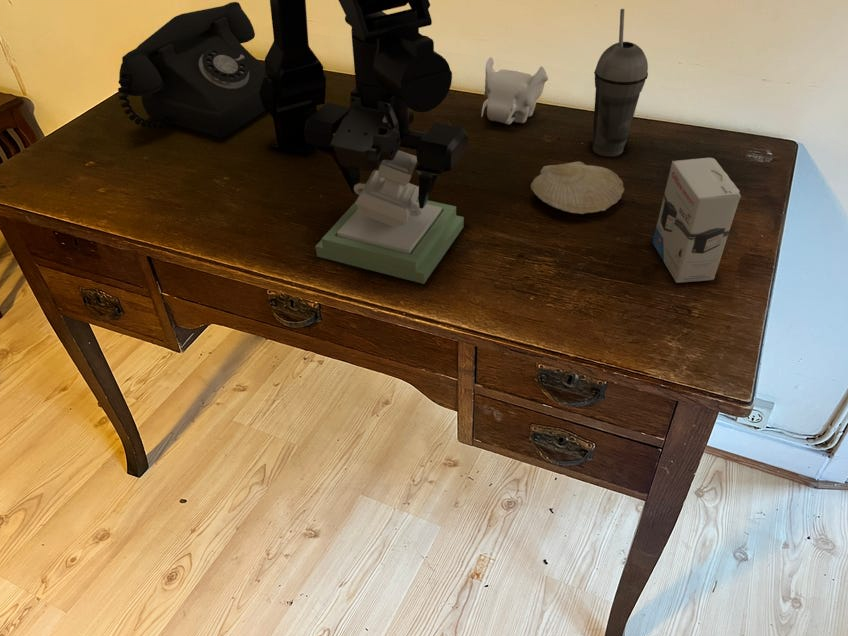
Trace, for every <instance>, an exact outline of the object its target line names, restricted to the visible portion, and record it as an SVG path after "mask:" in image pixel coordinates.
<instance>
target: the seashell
mask: <svg viewBox="0 0 848 636" xmlns="http://www.w3.org/2000/svg"><path fill="white" fill-rule="evenodd" d="M530 189H531V190H532V192H533V193H534V194H535V196H536V197H537V198H538V199H540V200H541V201H542V202H543V203H545V204H547V205H548V206H550V207H552V208H554V209H556V210H561V211H563V212H567V213H571V214H579V215H584V214H595V213H598V212H605V211H606V210H607V209H610V207H612V206H613V205H615V204H617V203H618V202H619V200H621V199H622V195H623V193H624V192H625V187H624V182H623V179H621V178H620V177H619V175H618V174H617V173H615V172H614V171H613V170H611V169H610V168H607V167H605V166H600V165H599V166H598V165H592V164H591V165H589V164H588V165H587V164H585V163H584V162H583V161H580V160H579V161H573V162H566V163H559V164H550V165H544V166H543V167H542V168H541V170H540V174H539V175H537V176H535V178H534V179H533V181H531V183H530Z"/></svg>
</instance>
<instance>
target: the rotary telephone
mask: <svg viewBox="0 0 848 636" xmlns="http://www.w3.org/2000/svg"><path fill="white" fill-rule="evenodd" d="M255 37H256V33H255V29H254V25H253V24H252V22H251V19H250V18H249V16H248V15H247V14H246V13H245V11H244V10H243V8H242V6H241V4H240V3H239V2H238V1H231V2H229V3H226V4H223V5H221V6H220V5H219V6H215V7H210V8H205V9H200V10H195V11H189V12H183V13H180V14H178V15H176V16H174V17H172V18H171V19H169V21H167V22H166V23H165V24H164V25H162V26H161V27H159V28H158V29H157V30H156V31H154V33H152V34H151V35H150V36H148V38H145V39H144V40H143V41H142V42H141V43H140V44H139V45H138V46H137V47H135V48H134V49H132V50H130V51H128V52H127V53H126V54H124V55H122V56H121V64H120V69H119V71H118V72H119V73H118V74H119V76H118V79H119V80H118V84H119V85H120V87H118V88H117V92H118V93H120V94H123V95H118V100H120V101H124V102H123V103H121V104H120V106H121V108H128V109H125V110H124V114H125V115H129V117H128V119H129V120H130V121H134V124H135V125H137V126H138V125H140V126H141V128H144V129H145V128H146V127H147V129H149V130H152V129H153V128H154V129H155V130H158V129H160V127H161V128H165V127H166V124H167V125H171V124H173V125H176V126H179V127H183V128H186V129H190V130H193V131H196V132H199V133H203V134H205V135H206V134H207V135H209V136H213V137H216V138H225V137H226V136H228V135H230V134H231V133H232V132H234V131H236V130H237V129H239V128H241V127H243V125H245V124H246V123H248V122H250V121H251V120H252V119H254V118H255V117H257V116H259V115H260V114H262V113H263V112H265V111H267V110H266V109H265V108H264V107H263V105H262V102H261V98H260V94H259V91H260V88H261V85H262V81H263V78H264V77H265V63H262V62H260V60H258V59H257V58H256V56H255V57H254V56H253V55H252V54H251V53H250V52H249V51H248V49H246V48H245V47H244V46H243V45H242V44H245V43H249V42H250V41H252V40H253V39H255ZM129 96H132V97H140V96H141V97H140V98H141V103H142V106H143V108H144V110H145V112H146V115H148V117H150V118H152V119H155V120H147V119H144V118H142V117H140V115H138V114H137V113H136V111H134V110H133V107H132V105H131V104H130V99H128V97H129ZM131 113H132V114H131ZM165 122H166V124H165Z"/></svg>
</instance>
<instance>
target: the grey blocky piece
mask: <svg viewBox="0 0 848 636" xmlns="http://www.w3.org/2000/svg"><path fill="white" fill-rule="evenodd" d="M417 163H418V161H417V155H414V154H411V153H409V152H406V151H402V150H399V149H398V151H397V153H396V155H395V157H394V159H393V160H392V161H389V160H383V161H382V162H381V163H380V164H379V166H378V169H374V170H372V171H371V174H370V176H369V178H368V179H367V181H366V183H361V182H359V183H358V184H356V185H354V191H355V193H354V194H356V195H358V197H357V199H356V200H357V201H356V200H355V202H356V205H357V206H358V208H359V209H360V210H361V212H362V213H363V215H365V216H367V217H370V218H372V219H375V220H377V221H380V222H382V223H385V224H387V225H390V226H393V227H395V228H396V227H397V226H400V225H403V224H405V223H406V222H407V220H408V218H409V216H410V215H412V216H419V215H421V213H422V210H421V208H419V206H418V205H417V204H415V202H416V200H417V198H418V194H419V185H415V184H413V183H410V181H411V179H412V176H413V174H414V171H415V168H416V167H417ZM412 209H414V210H415V211H413V210H412Z"/></svg>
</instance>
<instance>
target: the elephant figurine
mask: <svg viewBox="0 0 848 636" xmlns="http://www.w3.org/2000/svg"><path fill="white" fill-rule="evenodd" d="M494 62H495V61H494V58H493V57H491V56H490V57H488V58H487V60H486V63H485V76H484V77H485V78H484V93H483V96H484V98H487V99H485V100H484V101H483V104H482V108H481V118H482V117H483V115H484V112H485V109H486V108H487V109H486V116H487V119H488V120H489V121H492V122H498V123H502V124H504V125H511V124H512V123H513V122H514V123H519V124H524V123H526V121H527V120H528V118H529V117H532V116H533V114H534V111H535V109H536V105H537V101H538V100H539V99H540V97H541V96H542V95H543V92H544V88H545V84H546V82H547V81H548V80H549V76H548V75H547V71H546V70H545V68H544V66H540V67H539V68H538V70H537V71H536V73H534V74H533V75H532V74H530V73H527V72H521V71H516V70H510V69H500V70H497V71H496V70H494V69H493V67H494Z"/></svg>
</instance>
